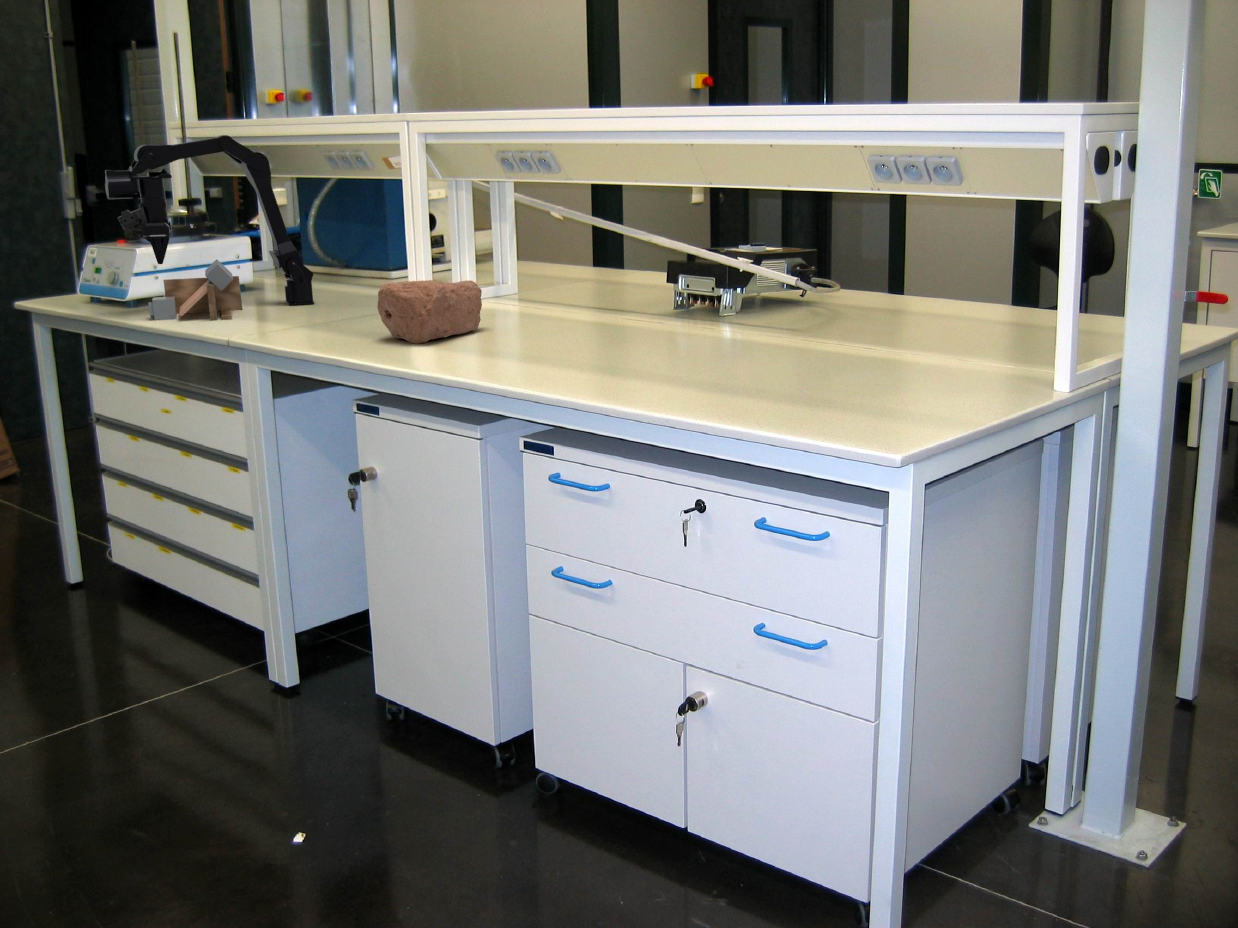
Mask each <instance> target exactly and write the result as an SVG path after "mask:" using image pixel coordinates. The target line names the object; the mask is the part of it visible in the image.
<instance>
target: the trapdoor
mask: <svg viewBox="0 0 1238 928" xmlns="http://www.w3.org/2000/svg"><path fill="white" fill-rule="evenodd" d="M204 275H205V276H204V277H205V278H208V280H207V281H206V282H205V283H204V284H203V285H202V286H201V287H200V288H199V289H198V290H197V291H196V292H195V293H194V294H193V295H192V296H191V297H190V298H189V299H188V300H187V301H186V302H185V303H184V304H183V305H182V306H180V312H179V313H178V314H179V316H180V317H183V316H184V315H185V314H187V313H186V312H187V311H188V310H189V309H190V308H191V307H192V306H193V305H194V304H195V303H196V302H197V301H198V300H199V299H200V298H202V297H203V296H204V295H205V294H206V293H207V285H212V283H213V284H214V285H215V286H217V287H218V288H219V289H220V290H221V291H222V290H223V289H224V288H225V287H226V286H227V285H228V284H229V283H230V282H231V281H232V280H233V273H232V272H231V270H229V269H228V268H227V267H226V266H225V265H224V264H222V263H221V261H219V260H218V259H215V260H214V261H213V262H212V263H211V264H210V265H209V266H208V267H207V268H205V271H204Z"/></svg>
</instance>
